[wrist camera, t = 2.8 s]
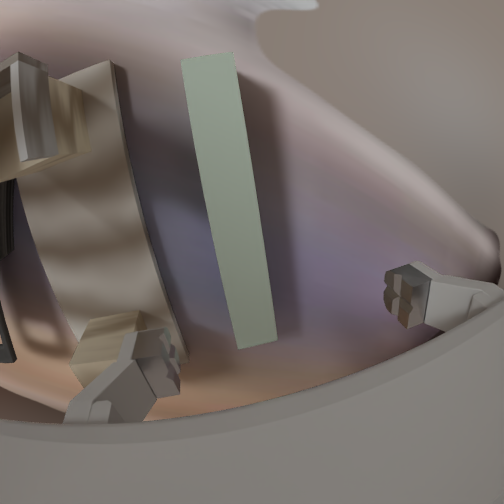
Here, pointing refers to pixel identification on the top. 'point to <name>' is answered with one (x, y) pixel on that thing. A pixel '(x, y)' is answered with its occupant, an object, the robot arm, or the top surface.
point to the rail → (230, 194)
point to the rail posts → (82, 206)
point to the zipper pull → (3, 244)
